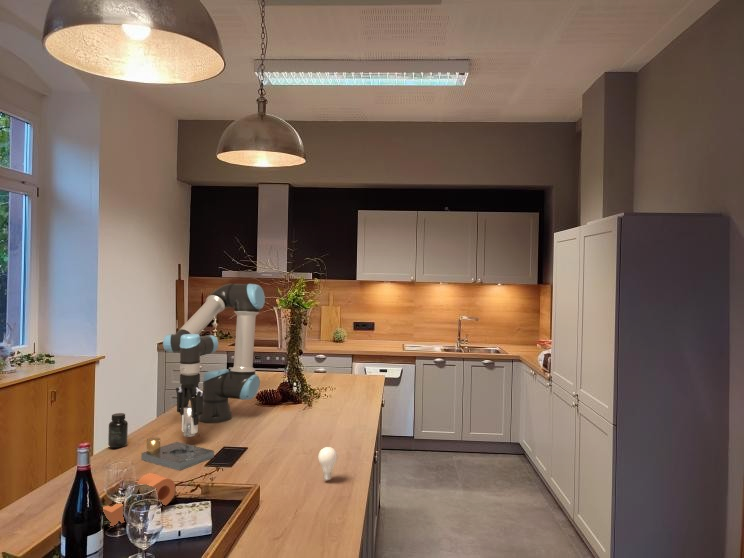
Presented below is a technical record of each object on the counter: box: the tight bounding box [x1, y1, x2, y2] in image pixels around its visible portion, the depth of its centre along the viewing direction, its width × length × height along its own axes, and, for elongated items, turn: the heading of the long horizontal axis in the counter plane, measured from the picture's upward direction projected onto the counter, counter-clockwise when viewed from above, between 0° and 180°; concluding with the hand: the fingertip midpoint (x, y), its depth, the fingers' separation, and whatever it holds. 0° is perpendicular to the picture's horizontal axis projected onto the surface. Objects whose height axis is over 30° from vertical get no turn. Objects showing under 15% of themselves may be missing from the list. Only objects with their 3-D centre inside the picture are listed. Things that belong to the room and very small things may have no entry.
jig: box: [141, 436, 215, 472], centre depth 195 cm, size 20×16×7 cm
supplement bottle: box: [107, 412, 129, 448], centre depth 209 cm, size 7×7×12 cm
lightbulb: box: [317, 446, 338, 482], centre depth 177 cm, size 6×6×11 cm
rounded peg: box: [183, 405, 197, 438], centre depth 210 cm, size 5×5×11 cm
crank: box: [102, 472, 176, 527], centre depth 152 cm, size 20×8×8 cm, turn 147°
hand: (189, 431), depth 210 cm, fingers closed on rounded peg, 4 cm apart
